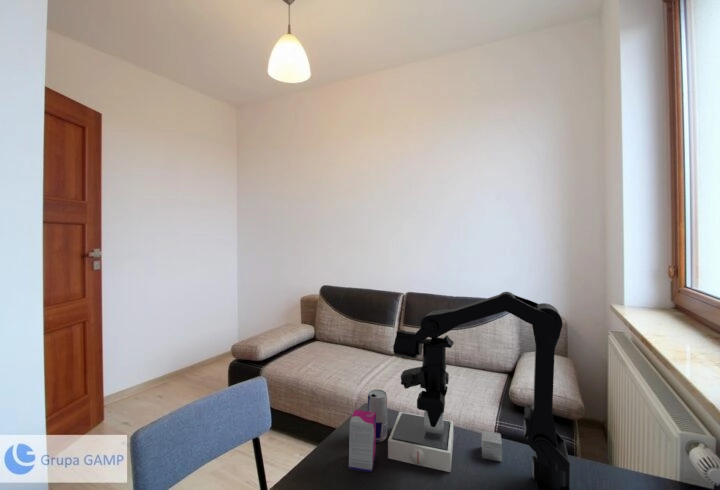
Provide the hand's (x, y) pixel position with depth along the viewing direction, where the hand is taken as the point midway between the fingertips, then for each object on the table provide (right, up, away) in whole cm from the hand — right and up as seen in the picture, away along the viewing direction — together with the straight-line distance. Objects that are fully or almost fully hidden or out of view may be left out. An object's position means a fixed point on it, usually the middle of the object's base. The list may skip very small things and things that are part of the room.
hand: (434, 421), depth 83 cm
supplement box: (-19, -8, -5) cm, 21 cm away
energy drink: (-14, -8, +6) cm, 17 cm away
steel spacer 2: (+14, -8, -2) cm, 16 cm away
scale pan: (-3, -4, +1) cm, 5 cm away
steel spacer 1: (0, -2, 0) cm, 2 cm away
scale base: (-3, -8, +1) cm, 8 cm away
